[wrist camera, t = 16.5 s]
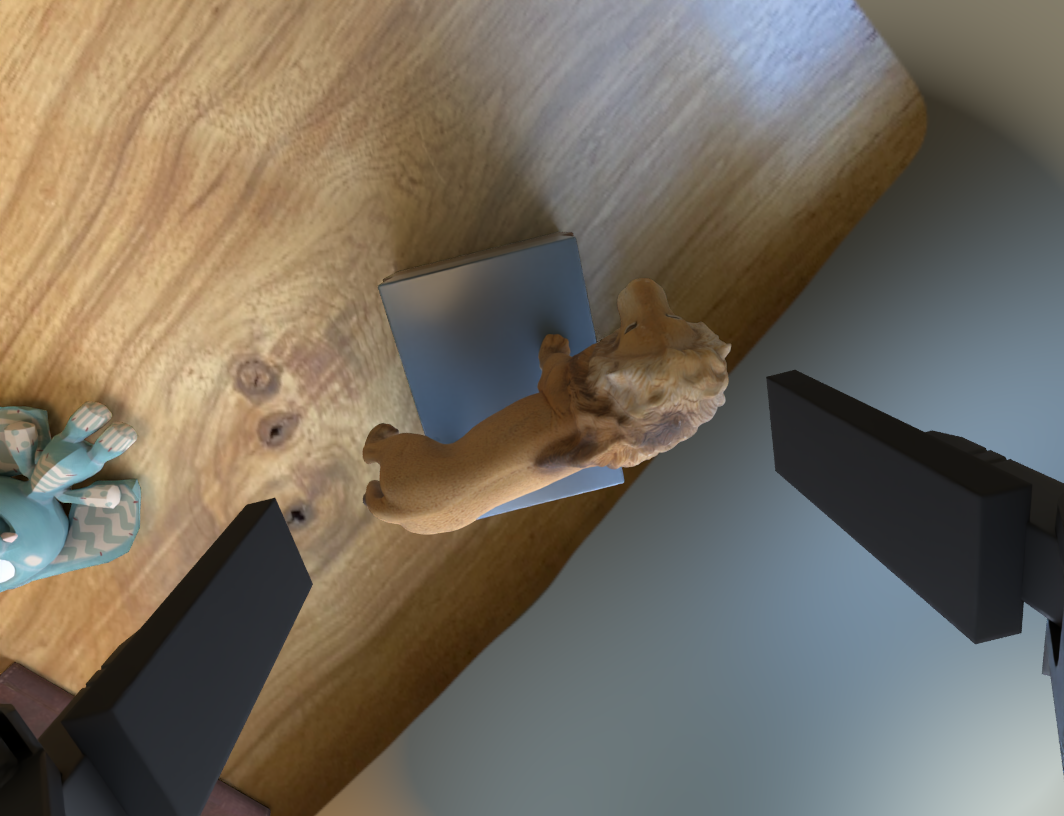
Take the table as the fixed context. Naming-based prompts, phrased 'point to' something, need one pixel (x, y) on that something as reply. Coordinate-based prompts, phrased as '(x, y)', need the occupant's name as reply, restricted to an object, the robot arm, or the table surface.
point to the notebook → (44, 701)
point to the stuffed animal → (62, 494)
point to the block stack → (490, 339)
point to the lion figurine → (560, 420)
